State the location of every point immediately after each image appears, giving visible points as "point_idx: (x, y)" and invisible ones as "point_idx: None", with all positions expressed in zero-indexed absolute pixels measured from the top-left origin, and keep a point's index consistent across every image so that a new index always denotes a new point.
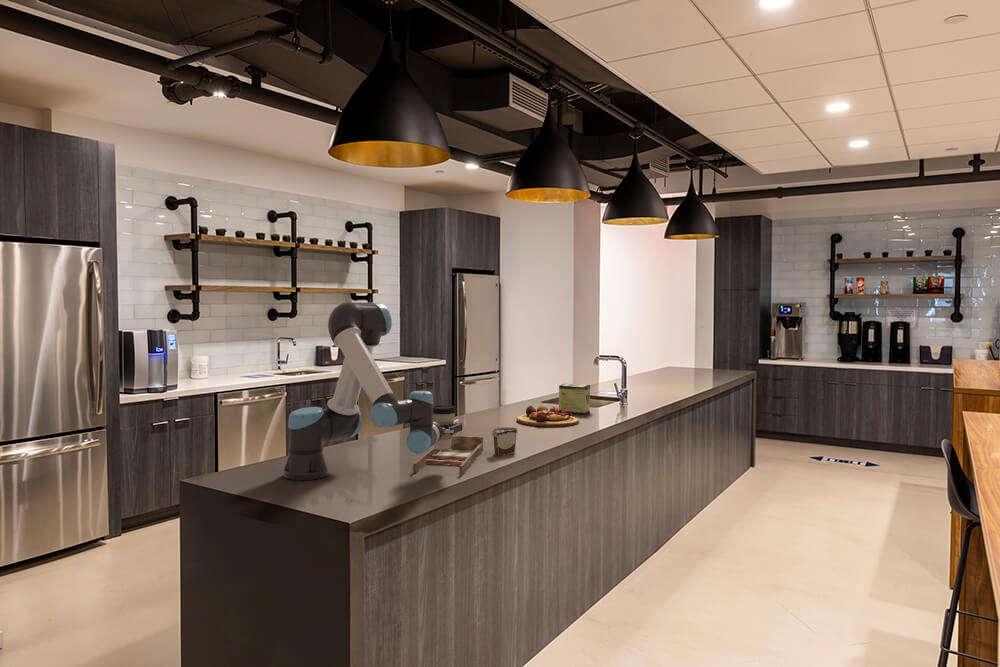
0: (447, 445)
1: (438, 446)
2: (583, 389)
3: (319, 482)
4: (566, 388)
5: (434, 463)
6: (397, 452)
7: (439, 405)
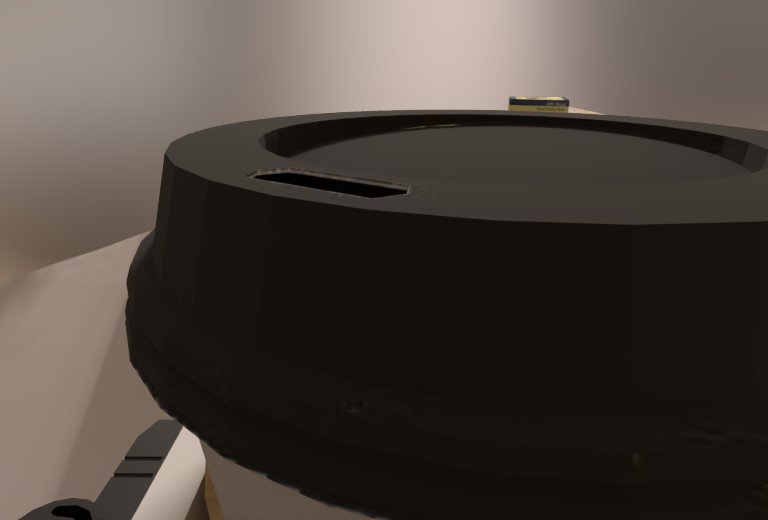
0: None
1: None
2: (563, 105)
3: None
4: (526, 104)
5: None
6: (72, 407)
7: (362, 115)
